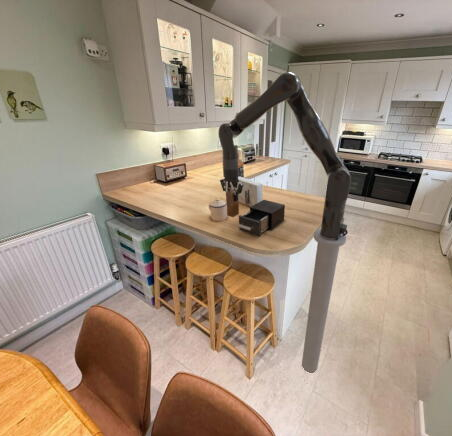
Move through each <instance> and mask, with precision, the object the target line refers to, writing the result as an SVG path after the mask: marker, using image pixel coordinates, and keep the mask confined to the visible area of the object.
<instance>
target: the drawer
mask: <svg viewBox="0 0 452 436" xmlns="http://www.w3.org/2000/svg"><path fill="white" fill-rule="evenodd" d="M270 216H271V215H270V214H267V213H263V212H259V211H256V210H251V211H250V210H249V211H248V212H246V213H244V214H242V215H238V224H237V227H238V230H239V231H240V232H244V233H247V234H249V235H252V236H255V237H259V238H260V237H261V235H262V234H263V233H265V232H266V230H269V229H268V228H270Z"/></svg>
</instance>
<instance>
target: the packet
mask: <svg viewBox="0 0 452 436" xmlns="http://www.w3.org/2000/svg"><path fill="white" fill-rule="evenodd" d="M225 202H226V214H227V217H230V218H235V217H236V216H239V214H240V202H239V201H236V202H234V192H233V191H232V190H230V191H228V192H225Z"/></svg>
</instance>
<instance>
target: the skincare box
mask: <svg viewBox="0 0 452 436" xmlns="http://www.w3.org/2000/svg"><path fill="white" fill-rule="evenodd" d="M238 180H239V182H240V183H243V184H244V185H243V189H242V192H241V193H240V194H238V202H239V203H241V204H244V205H246V206H248V207H249V208H250V207H252V206H253V205H255V204H257V203H259V202H260V201H262V200H263V198H264V197H263V183H262V182H259V181H256V180H252V179H249V178H246V177H244V178H243V177H240V176H239V177H238ZM235 188H236V187H235ZM235 191H236V190H235Z"/></svg>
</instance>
